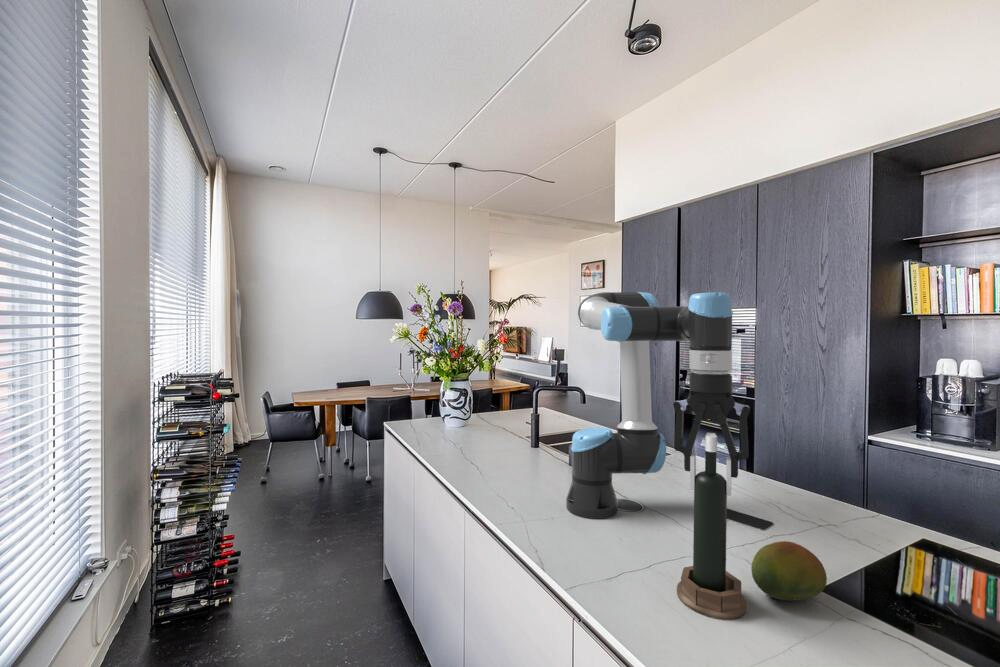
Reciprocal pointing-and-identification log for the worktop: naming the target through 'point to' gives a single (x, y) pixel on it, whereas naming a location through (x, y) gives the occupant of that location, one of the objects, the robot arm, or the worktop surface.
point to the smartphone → (748, 520)
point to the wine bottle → (710, 523)
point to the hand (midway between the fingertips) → (710, 490)
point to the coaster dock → (712, 597)
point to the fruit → (788, 571)
